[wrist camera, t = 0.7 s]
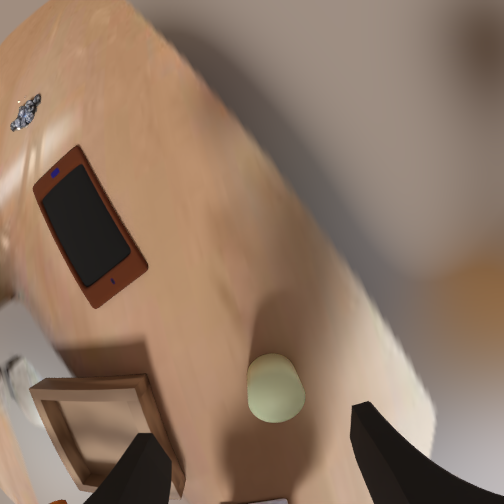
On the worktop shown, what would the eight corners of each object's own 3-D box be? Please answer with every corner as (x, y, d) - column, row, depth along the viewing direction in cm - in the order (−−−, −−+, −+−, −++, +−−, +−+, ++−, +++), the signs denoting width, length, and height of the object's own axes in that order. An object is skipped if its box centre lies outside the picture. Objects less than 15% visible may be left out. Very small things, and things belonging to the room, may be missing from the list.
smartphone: (76, 143, 25) (148, 268, 25) (80, 146, 26) (151, 268, 26) (29, 187, 25) (92, 311, 25) (34, 188, 26) (97, 309, 26)
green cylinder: (298, 390, 26) (308, 416, 21) (252, 399, 26) (253, 427, 21) (291, 348, 26) (301, 368, 21) (242, 358, 26) (242, 380, 21)
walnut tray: (185, 479, 26) (181, 499, 22) (89, 475, 25) (79, 490, 22) (146, 373, 26) (134, 388, 22) (45, 377, 25) (28, 388, 22)
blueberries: (2, 128, 26) (-7, 124, 24) (37, 76, 26) (29, 71, 24) (22, 152, 26) (12, 148, 24) (60, 95, 26) (51, 89, 24)
